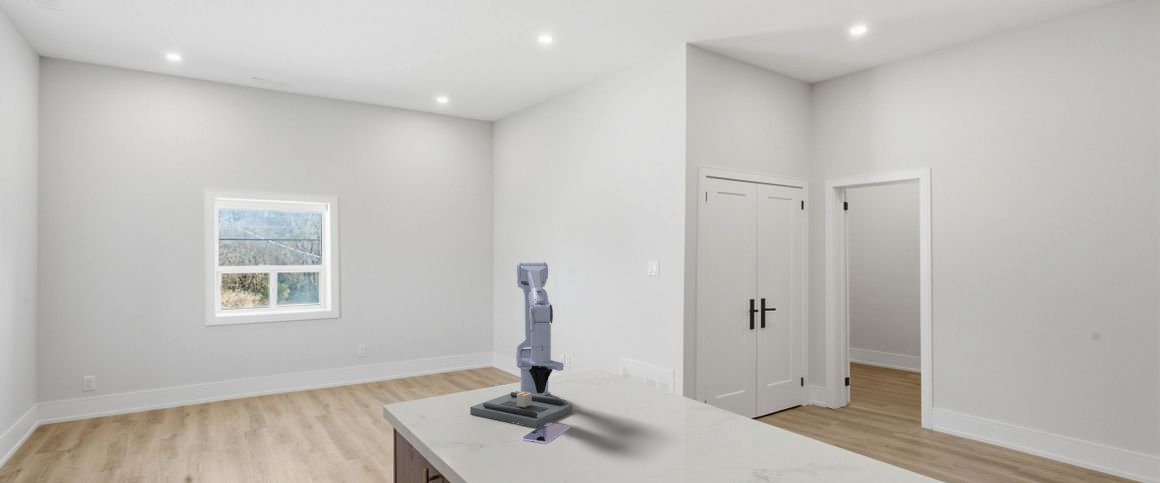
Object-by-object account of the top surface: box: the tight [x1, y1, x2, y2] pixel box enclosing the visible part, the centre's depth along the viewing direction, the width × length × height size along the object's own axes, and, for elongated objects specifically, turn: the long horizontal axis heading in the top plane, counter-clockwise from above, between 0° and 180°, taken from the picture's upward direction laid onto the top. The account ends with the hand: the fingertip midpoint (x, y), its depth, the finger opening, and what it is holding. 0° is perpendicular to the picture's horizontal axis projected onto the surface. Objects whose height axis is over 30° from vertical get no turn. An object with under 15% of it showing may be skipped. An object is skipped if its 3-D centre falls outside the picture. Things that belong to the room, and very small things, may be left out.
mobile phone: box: [521, 421, 571, 445], centre depth 154 cm, size 8×1×15 cm
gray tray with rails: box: [483, 390, 567, 417], centre depth 173 cm, size 17×20×1 cm
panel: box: [469, 393, 573, 429], centre depth 172 cm, size 18×24×2 cm
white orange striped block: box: [517, 392, 532, 407], centre depth 172 cm, size 4×3×4 cm
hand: (540, 392), depth 168 cm, fingers closed
